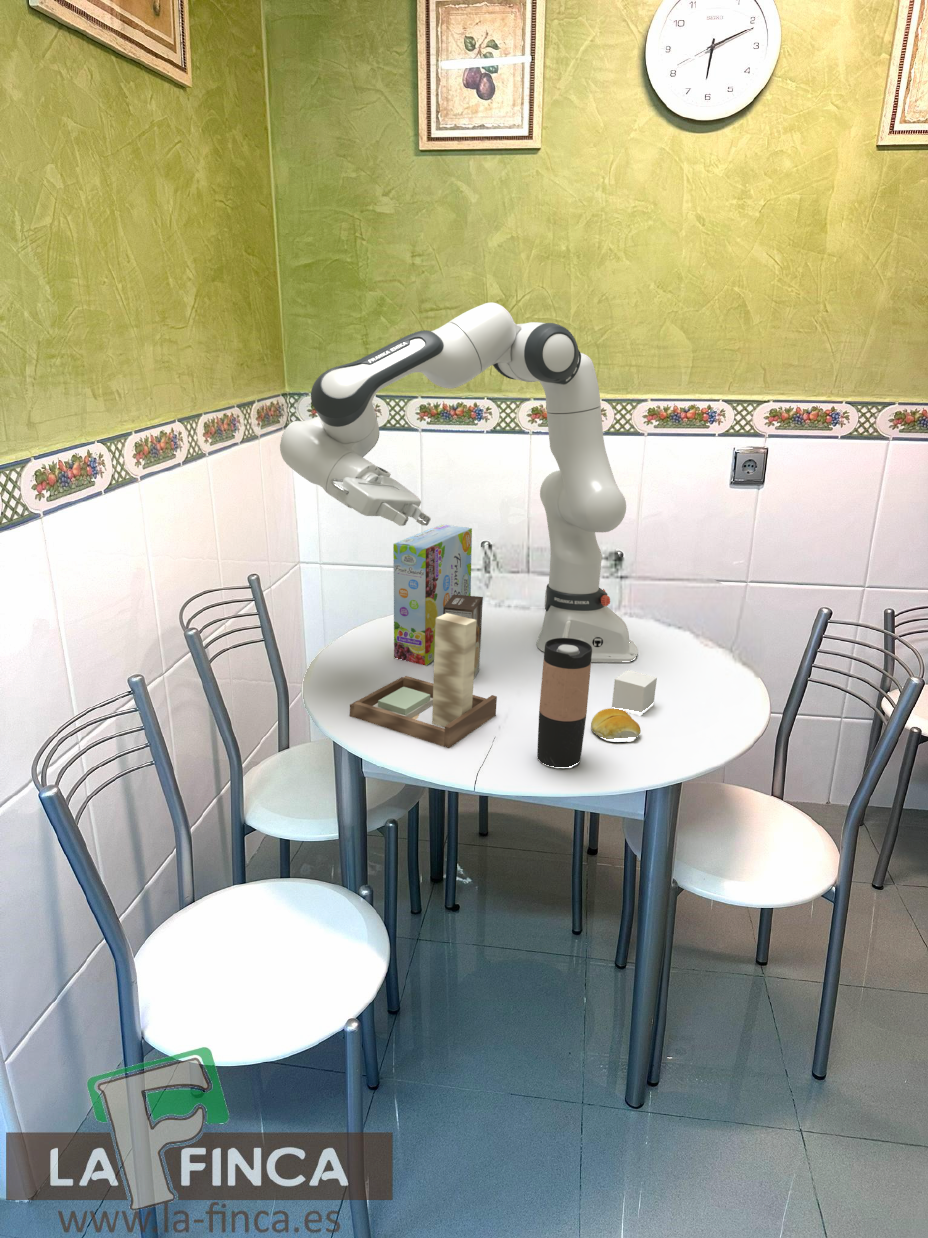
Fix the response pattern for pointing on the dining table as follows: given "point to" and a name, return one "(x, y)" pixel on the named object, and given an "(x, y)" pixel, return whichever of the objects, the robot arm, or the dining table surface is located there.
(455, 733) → the tray
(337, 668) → the dining table surface
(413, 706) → the offcut top
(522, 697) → the dining table surface
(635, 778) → the dining table surface
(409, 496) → the robot arm
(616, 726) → the bread roll
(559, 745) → the travel mug
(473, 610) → the coffee box
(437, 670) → the beige tall rectangular block
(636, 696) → the off-white cube
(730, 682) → the dining table surface
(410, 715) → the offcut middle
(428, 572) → the snack box
